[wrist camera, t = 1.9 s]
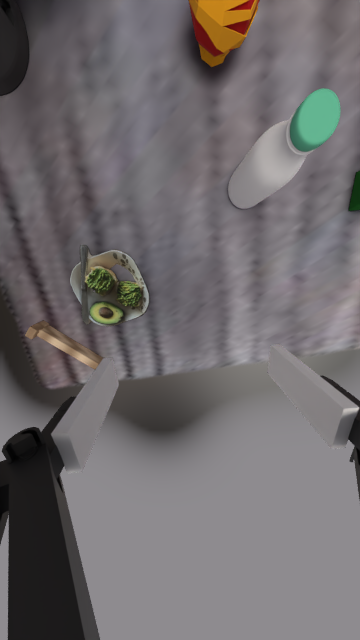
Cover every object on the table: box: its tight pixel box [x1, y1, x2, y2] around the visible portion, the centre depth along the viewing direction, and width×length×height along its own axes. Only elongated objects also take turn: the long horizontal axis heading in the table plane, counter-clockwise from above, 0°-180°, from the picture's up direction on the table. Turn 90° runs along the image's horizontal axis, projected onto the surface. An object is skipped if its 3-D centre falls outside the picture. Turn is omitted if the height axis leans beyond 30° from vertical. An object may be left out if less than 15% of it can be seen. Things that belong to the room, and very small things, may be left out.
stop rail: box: [25, 320, 103, 370], centre depth 45 cm, size 19×3×4 cm, turn 51°
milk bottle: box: [228, 89, 340, 209], centre depth 28 cm, size 8×8×20 cm
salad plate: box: [70, 245, 150, 326], centre depth 41 cm, size 19×18×5 cm
